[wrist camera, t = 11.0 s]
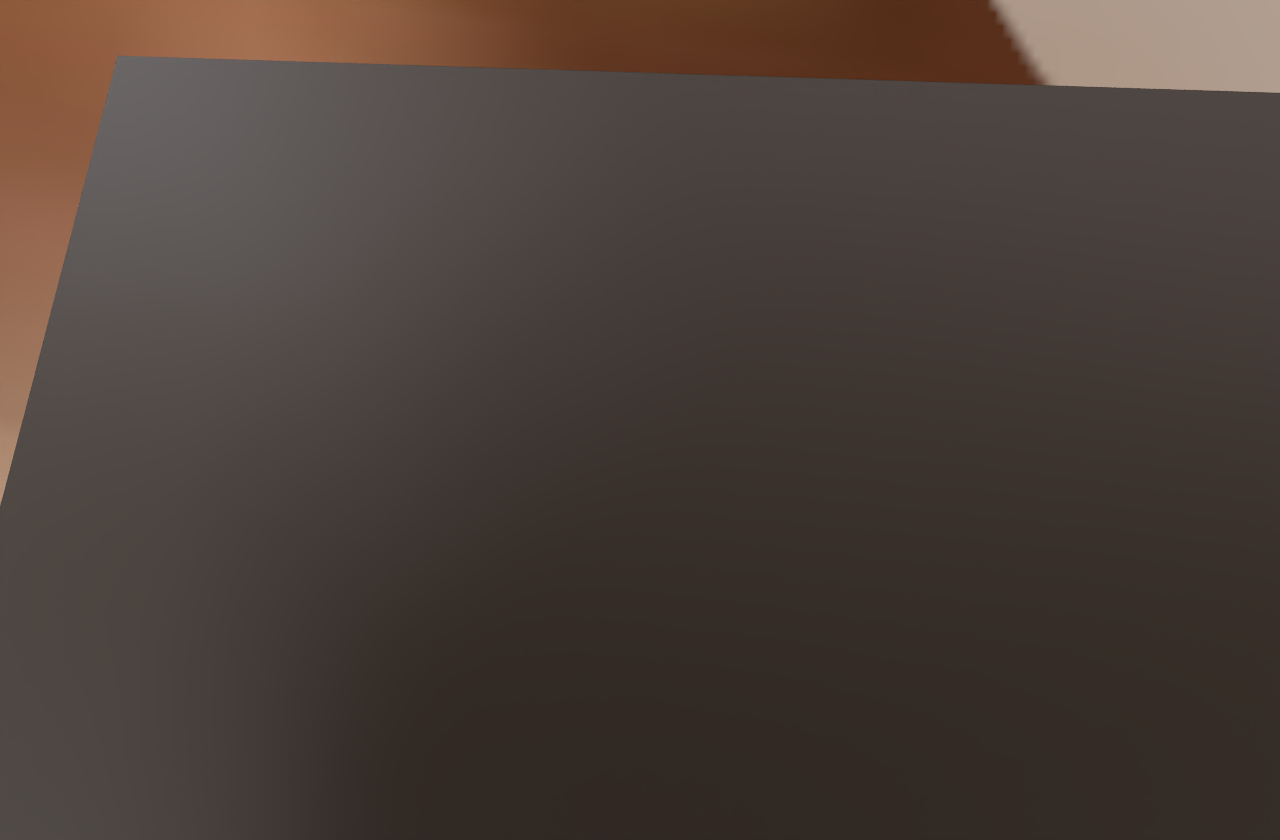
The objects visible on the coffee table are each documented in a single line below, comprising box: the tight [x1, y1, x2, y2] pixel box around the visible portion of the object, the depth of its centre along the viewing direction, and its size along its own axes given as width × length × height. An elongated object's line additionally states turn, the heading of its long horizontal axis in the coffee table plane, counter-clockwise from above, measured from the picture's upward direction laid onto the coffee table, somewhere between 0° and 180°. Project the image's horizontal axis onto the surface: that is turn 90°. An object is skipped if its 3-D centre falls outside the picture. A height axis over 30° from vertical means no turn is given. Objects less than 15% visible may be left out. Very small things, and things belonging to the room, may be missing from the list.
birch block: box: [0, 56, 1280, 840], centre depth 10 cm, size 6×6×12 cm
